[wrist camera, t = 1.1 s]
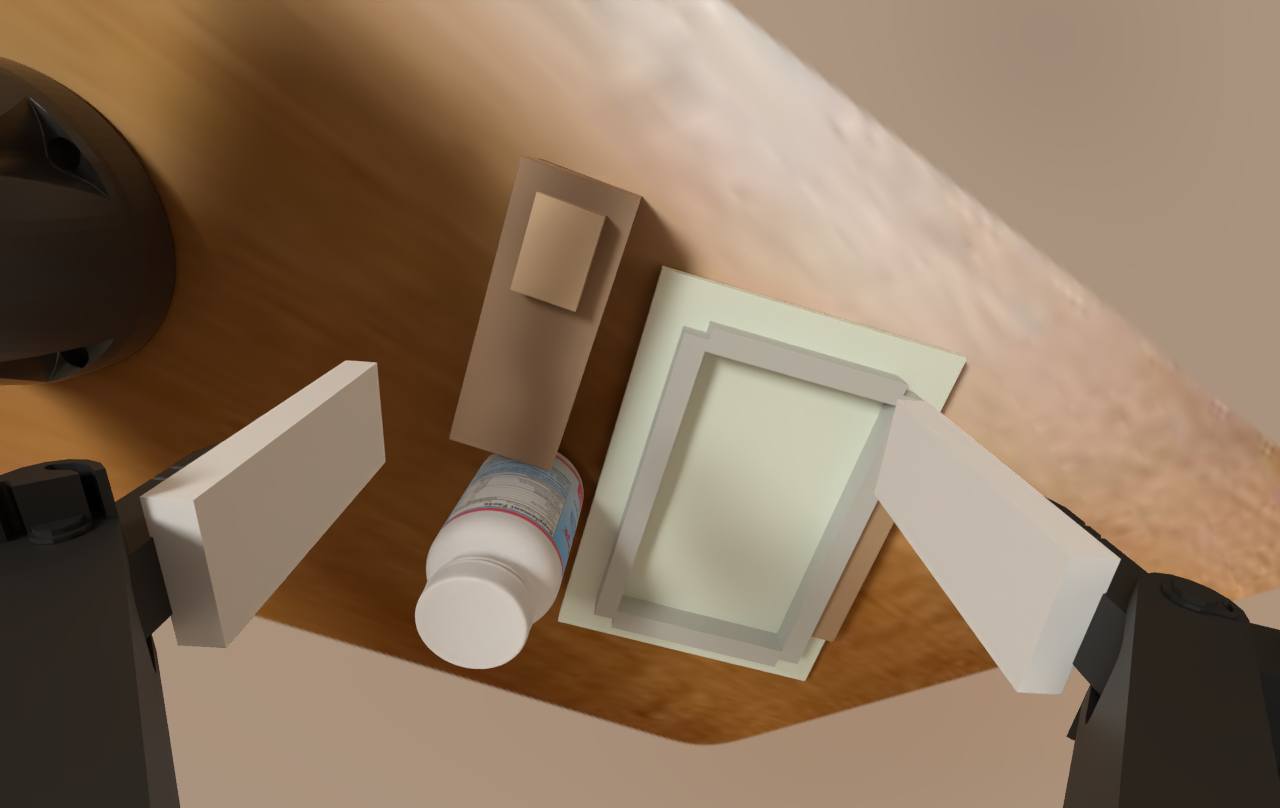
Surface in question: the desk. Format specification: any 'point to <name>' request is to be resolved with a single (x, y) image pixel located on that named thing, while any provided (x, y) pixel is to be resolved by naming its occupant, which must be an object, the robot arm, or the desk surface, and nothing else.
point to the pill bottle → (499, 561)
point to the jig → (745, 476)
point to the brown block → (542, 310)
